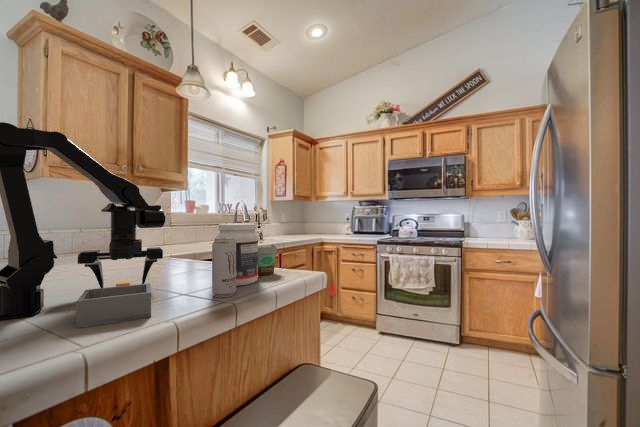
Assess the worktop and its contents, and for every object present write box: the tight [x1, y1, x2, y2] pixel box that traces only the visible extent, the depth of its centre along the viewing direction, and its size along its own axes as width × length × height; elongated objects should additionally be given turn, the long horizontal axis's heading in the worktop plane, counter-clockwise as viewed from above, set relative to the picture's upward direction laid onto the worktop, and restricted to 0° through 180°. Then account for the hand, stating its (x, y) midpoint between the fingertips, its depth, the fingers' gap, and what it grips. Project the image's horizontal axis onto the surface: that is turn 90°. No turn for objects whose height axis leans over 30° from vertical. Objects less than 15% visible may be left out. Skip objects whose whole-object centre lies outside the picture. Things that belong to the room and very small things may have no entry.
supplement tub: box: [215, 222, 259, 287], centre depth 94 cm, size 13×13×18 cm
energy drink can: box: [211, 237, 237, 298], centre depth 79 cm, size 6×6×15 cm
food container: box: [258, 244, 278, 277], centre depth 106 cm, size 12×6×10 cm, turn 143°
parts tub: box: [76, 282, 152, 329], centre depth 63 cm, size 12×10×5 cm
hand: (123, 286), depth 81 cm, fingers open, 9 cm apart
